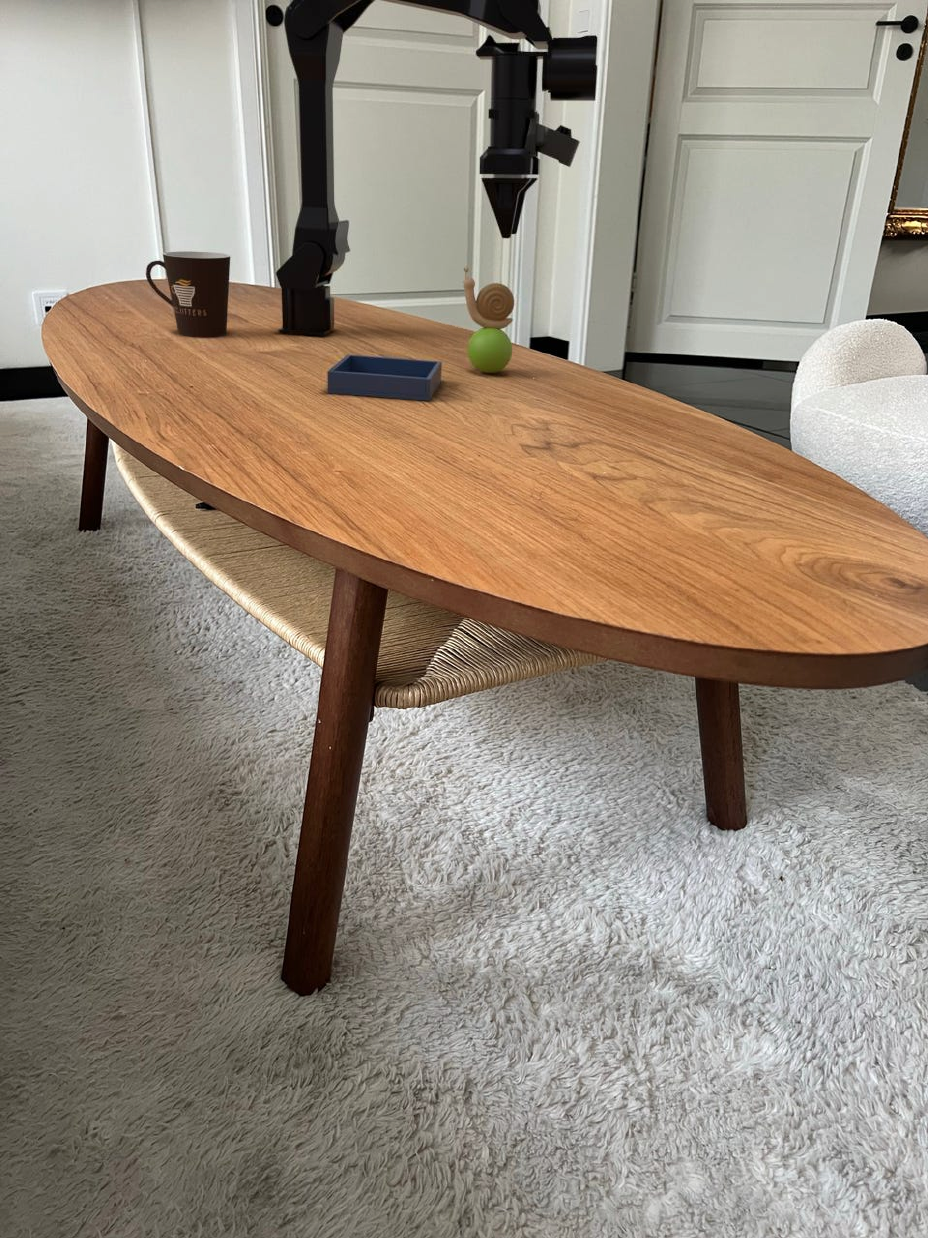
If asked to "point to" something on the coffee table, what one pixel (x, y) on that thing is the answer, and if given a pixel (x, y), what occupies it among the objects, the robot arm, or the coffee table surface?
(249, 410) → the coffee table surface
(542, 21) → the robot arm
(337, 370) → the blue tray
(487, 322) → the snail figurine
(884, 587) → the coffee table surface
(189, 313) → the coffee mug
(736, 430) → the coffee table surface
